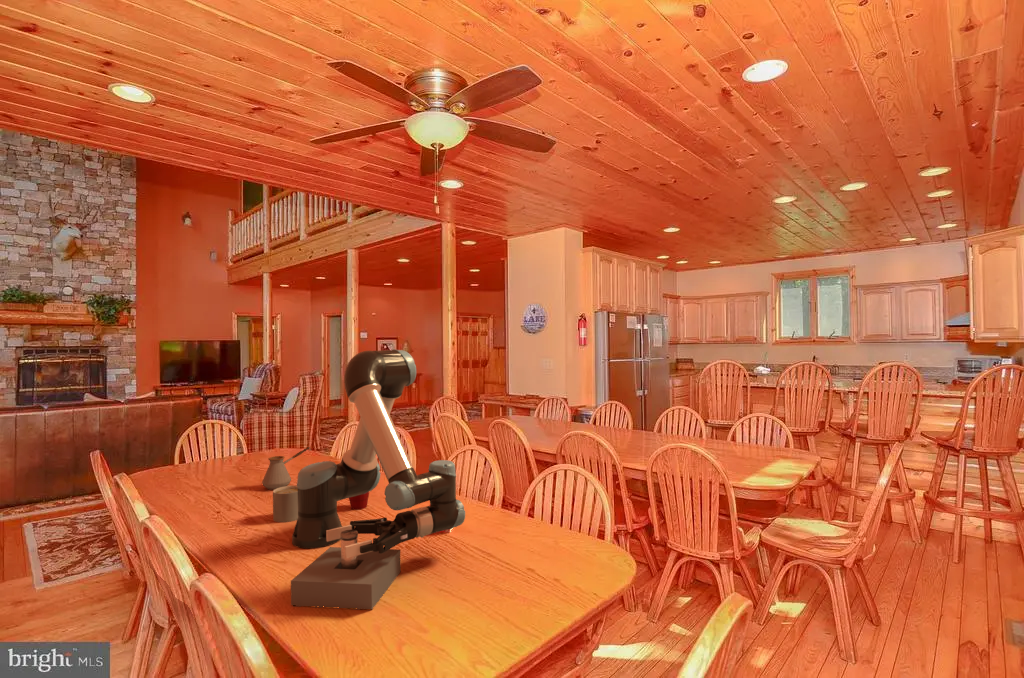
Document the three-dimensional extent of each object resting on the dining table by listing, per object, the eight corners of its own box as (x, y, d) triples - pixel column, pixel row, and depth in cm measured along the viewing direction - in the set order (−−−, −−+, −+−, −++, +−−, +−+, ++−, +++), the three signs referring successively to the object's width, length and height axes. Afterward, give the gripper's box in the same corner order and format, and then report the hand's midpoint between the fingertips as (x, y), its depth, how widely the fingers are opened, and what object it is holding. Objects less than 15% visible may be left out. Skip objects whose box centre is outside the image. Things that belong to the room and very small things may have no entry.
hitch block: (291, 605, 124) (290, 580, 124) (330, 568, 144) (330, 547, 144) (371, 610, 121) (371, 584, 121) (400, 571, 141) (400, 549, 141)
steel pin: (337, 591, 131) (337, 535, 131) (345, 583, 135) (345, 529, 135) (353, 592, 130) (353, 536, 130) (360, 584, 134) (360, 529, 134)
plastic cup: (337, 510, 193) (336, 478, 193) (356, 501, 203) (355, 470, 203) (361, 513, 189) (360, 480, 189) (379, 504, 199) (378, 473, 199)
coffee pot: (269, 493, 216) (269, 457, 216) (257, 488, 224) (256, 453, 224) (317, 481, 233) (317, 448, 232) (304, 477, 240) (304, 445, 240)
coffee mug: (283, 524, 179) (283, 495, 179) (267, 518, 185) (267, 490, 185) (317, 513, 190) (317, 485, 190) (301, 508, 196) (300, 481, 196)
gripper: (435, 552, 134) (354, 576, 121) (393, 525, 153) (320, 543, 140) (434, 522, 134) (354, 544, 121) (392, 499, 153) (319, 516, 140)
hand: (335, 543), depth 130 cm, fingers open, 13 cm apart
